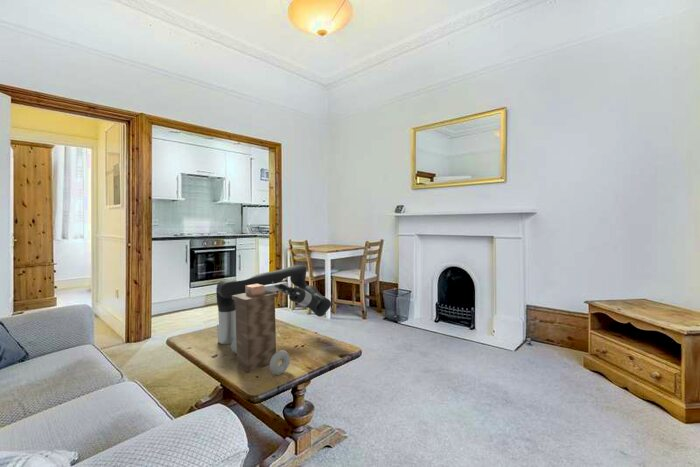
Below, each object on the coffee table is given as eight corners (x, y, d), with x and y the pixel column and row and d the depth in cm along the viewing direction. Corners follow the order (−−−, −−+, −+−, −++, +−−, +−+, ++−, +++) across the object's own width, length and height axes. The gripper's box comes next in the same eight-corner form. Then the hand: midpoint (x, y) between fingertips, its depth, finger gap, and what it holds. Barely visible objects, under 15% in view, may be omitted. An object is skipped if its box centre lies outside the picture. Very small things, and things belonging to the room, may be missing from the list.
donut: (273, 379, 135) (272, 355, 135) (268, 377, 137) (267, 353, 137) (291, 370, 143) (291, 347, 143) (286, 368, 145) (285, 346, 145)
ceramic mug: (238, 359, 155) (238, 343, 155) (230, 354, 161) (230, 338, 161) (258, 352, 163) (258, 337, 162) (250, 348, 168) (250, 333, 168)
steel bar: (282, 287, 162) (282, 279, 162) (290, 289, 158) (290, 280, 158) (245, 294, 148) (245, 285, 148) (252, 296, 144) (252, 287, 144)
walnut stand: (265, 354, 160) (263, 289, 158) (279, 362, 151) (277, 293, 150) (233, 365, 148) (231, 295, 146) (247, 374, 140) (245, 299, 138)
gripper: (306, 306, 161) (281, 294, 150) (289, 301, 170) (264, 289, 160) (312, 291, 163) (287, 279, 152) (294, 287, 173) (270, 275, 162)
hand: (275, 284), depth 156 cm, fingers open, 6 cm apart
